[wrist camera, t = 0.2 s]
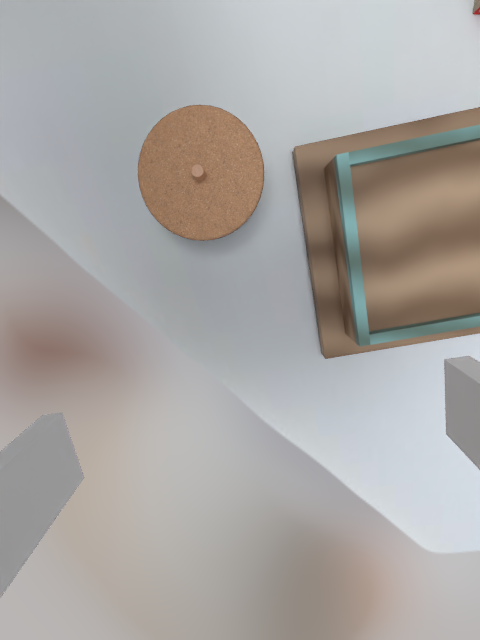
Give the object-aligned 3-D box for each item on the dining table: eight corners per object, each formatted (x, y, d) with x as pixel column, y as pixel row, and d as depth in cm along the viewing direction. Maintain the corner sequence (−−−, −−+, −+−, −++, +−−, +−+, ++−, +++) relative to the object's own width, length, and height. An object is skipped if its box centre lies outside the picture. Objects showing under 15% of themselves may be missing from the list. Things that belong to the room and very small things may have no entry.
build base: (292, 152, 35) (302, 128, 28) (514, 105, 33) (583, 67, 26) (321, 353, 39) (336, 375, 32) (518, 320, 37) (578, 336, 31)
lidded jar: (233, 115, 34) (226, 66, 25) (278, 213, 36) (287, 201, 27) (143, 166, 36) (105, 138, 26) (191, 258, 37) (171, 262, 28)
